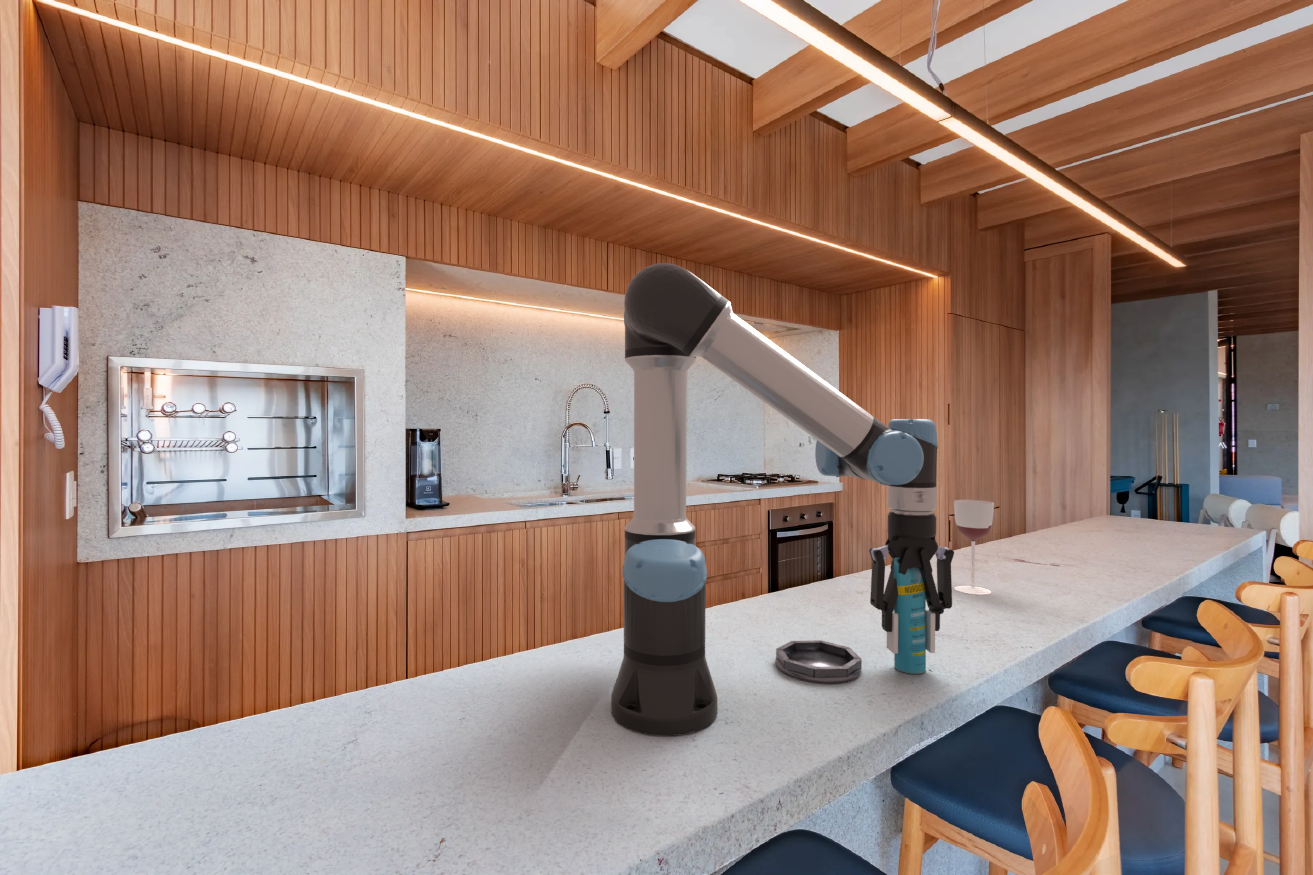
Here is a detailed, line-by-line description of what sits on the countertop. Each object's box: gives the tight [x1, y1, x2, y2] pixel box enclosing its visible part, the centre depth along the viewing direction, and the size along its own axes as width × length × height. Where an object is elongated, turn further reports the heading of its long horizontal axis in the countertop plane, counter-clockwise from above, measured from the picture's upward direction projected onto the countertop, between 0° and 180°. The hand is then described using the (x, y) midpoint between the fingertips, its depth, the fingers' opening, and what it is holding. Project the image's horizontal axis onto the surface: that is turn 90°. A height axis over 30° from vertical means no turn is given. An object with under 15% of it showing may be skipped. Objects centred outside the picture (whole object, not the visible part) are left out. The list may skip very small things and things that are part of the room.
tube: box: [893, 558, 927, 675], centre depth 104 cm, size 7×5×19 cm, turn 123°
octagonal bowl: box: [775, 639, 863, 685], centre depth 105 cm, size 14×14×2 cm
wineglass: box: [953, 499, 995, 596], centre depth 155 cm, size 9×10×22 cm
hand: (910, 649), depth 104 cm, fingers closed on tube, 5 cm apart
